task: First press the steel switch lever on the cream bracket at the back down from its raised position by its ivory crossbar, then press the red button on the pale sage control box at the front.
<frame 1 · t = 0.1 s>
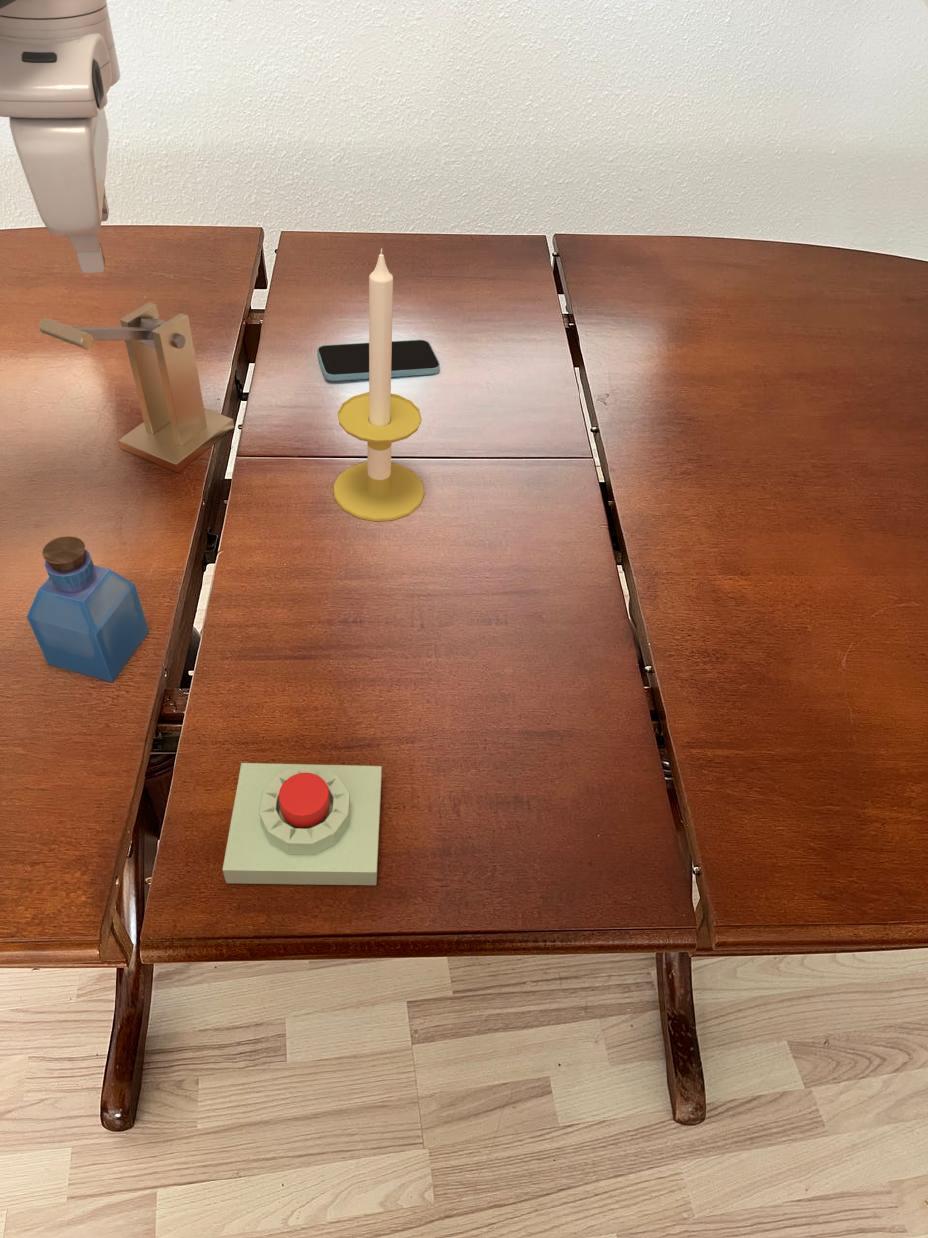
hand: (96, 242, 71), 27 cm above the table, tool pointing down, fingers open, 8 cm apart
button: (304, 799, 63), point 4 cm above the table, slide at 0.1 cm
lever: (117, 333, 83), point 15 cm above the table, hinge at 25.0°
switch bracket: (178, 438, 98), on the table
candle: (378, 492, 94), on the table
smartphone: (378, 364, 111), on the table
control box: (307, 829, 66), on the table
perfume bottle: (99, 649, 77), on the table
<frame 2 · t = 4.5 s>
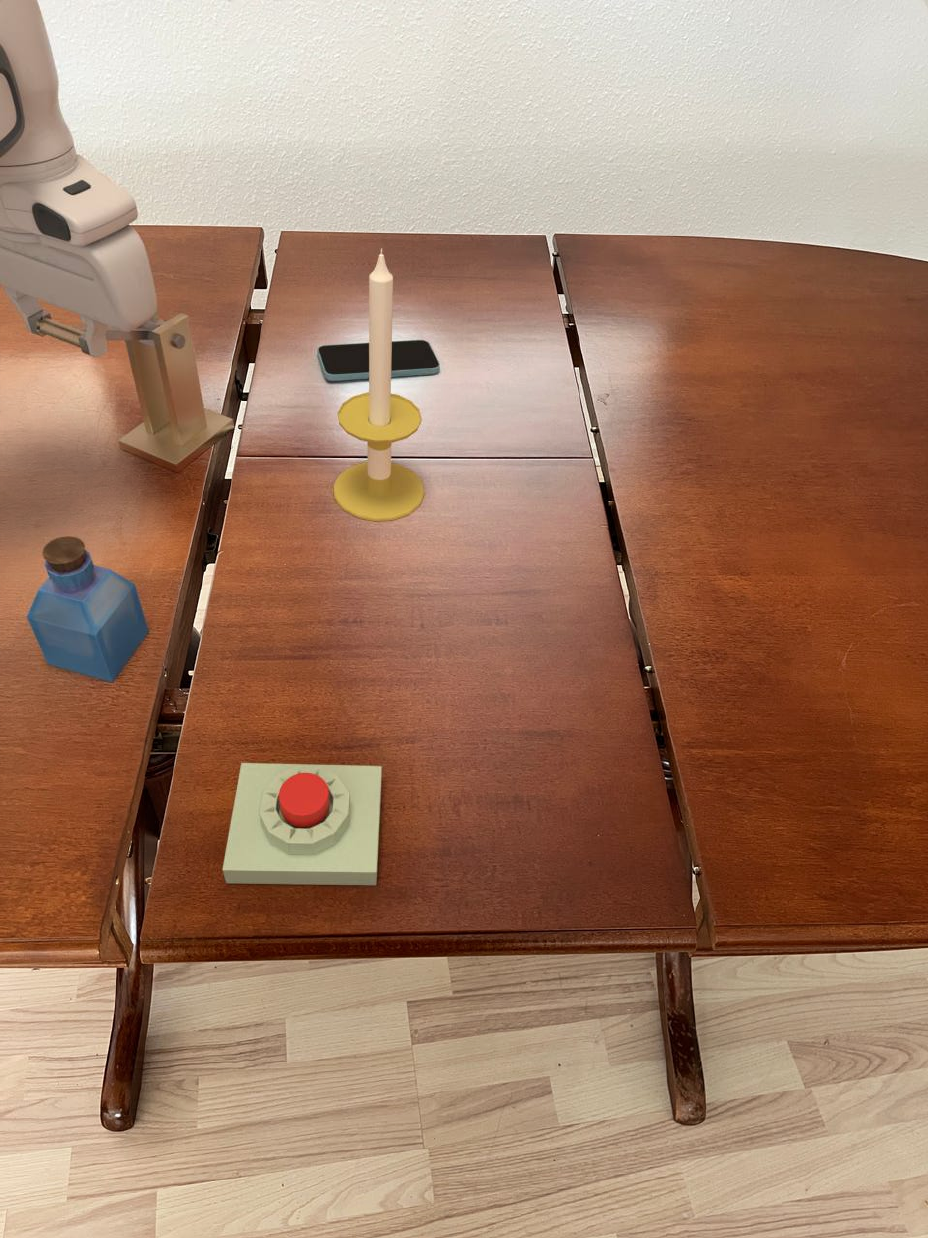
hand: (69, 342, 78), 17 cm above the table, tool pointing down, fingers closed on lever, 5 cm apart
lever: (117, 333, 83), point 15 cm above the table, hinge at 25.0°, touching gripper
everything else where it was.
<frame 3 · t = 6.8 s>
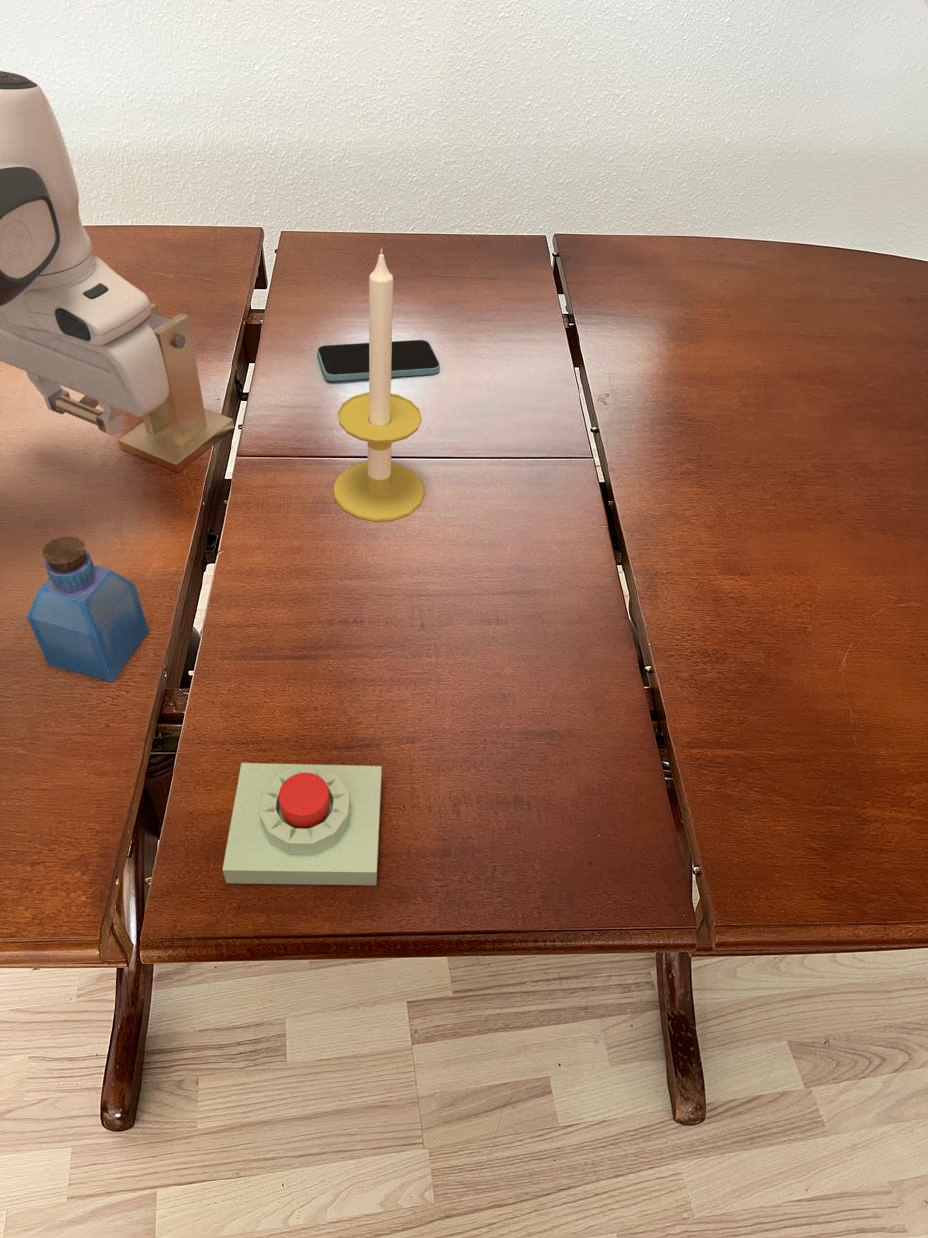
hand: (86, 419, 84), 9 cm above the table, tool pointing down, fingers closed on lever, 5 cm apart
lever: (122, 368, 85), point 12 cm above the table, hinge at -12.8°, touching gripper
everything else where it was.
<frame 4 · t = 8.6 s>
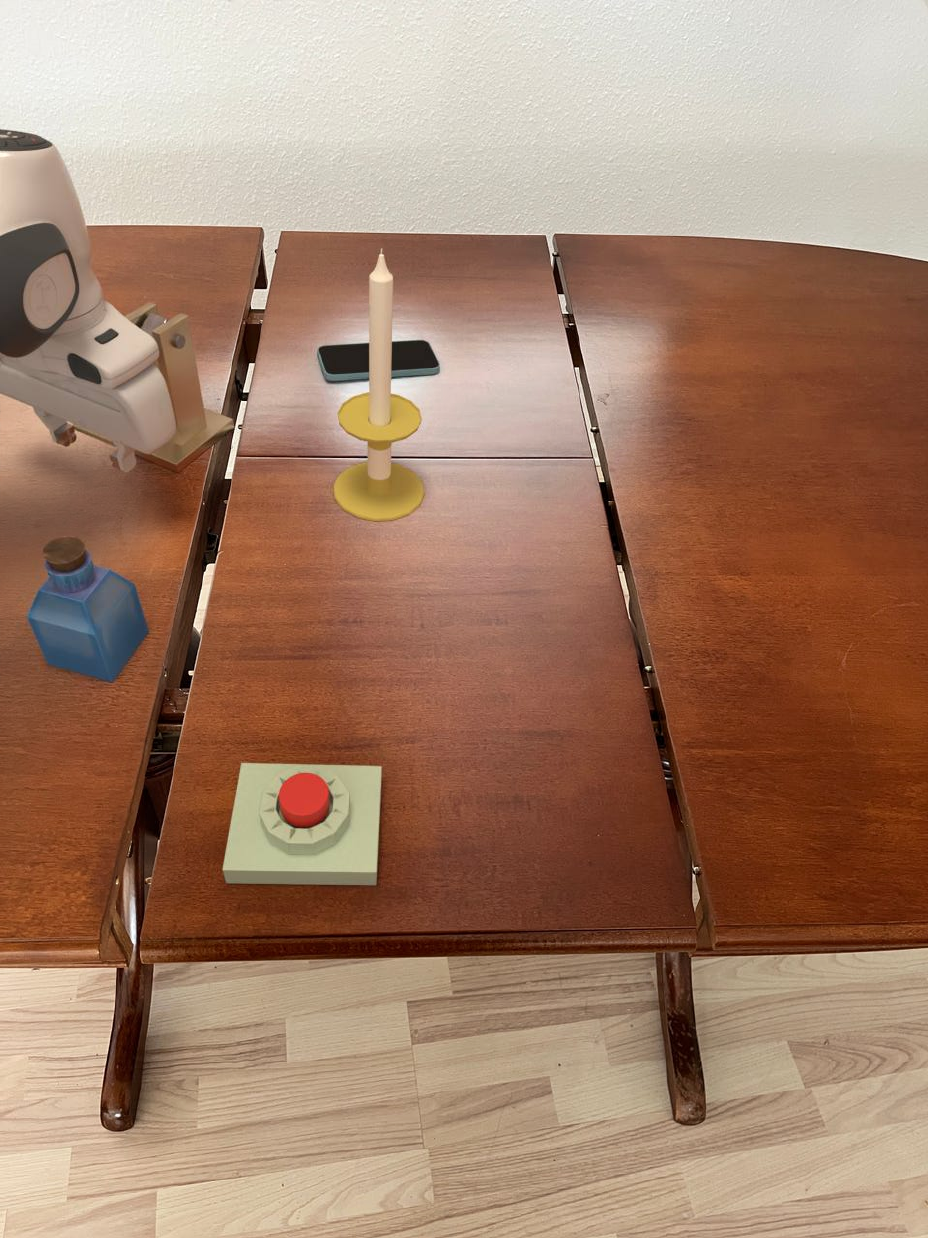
hand: (95, 454, 87), 5 cm above the table, tool pointing down, fingers open, 6 cm apart
lever: (129, 379, 87), point 10 cm above the table, hinge at -29.0°
everything else where it was.
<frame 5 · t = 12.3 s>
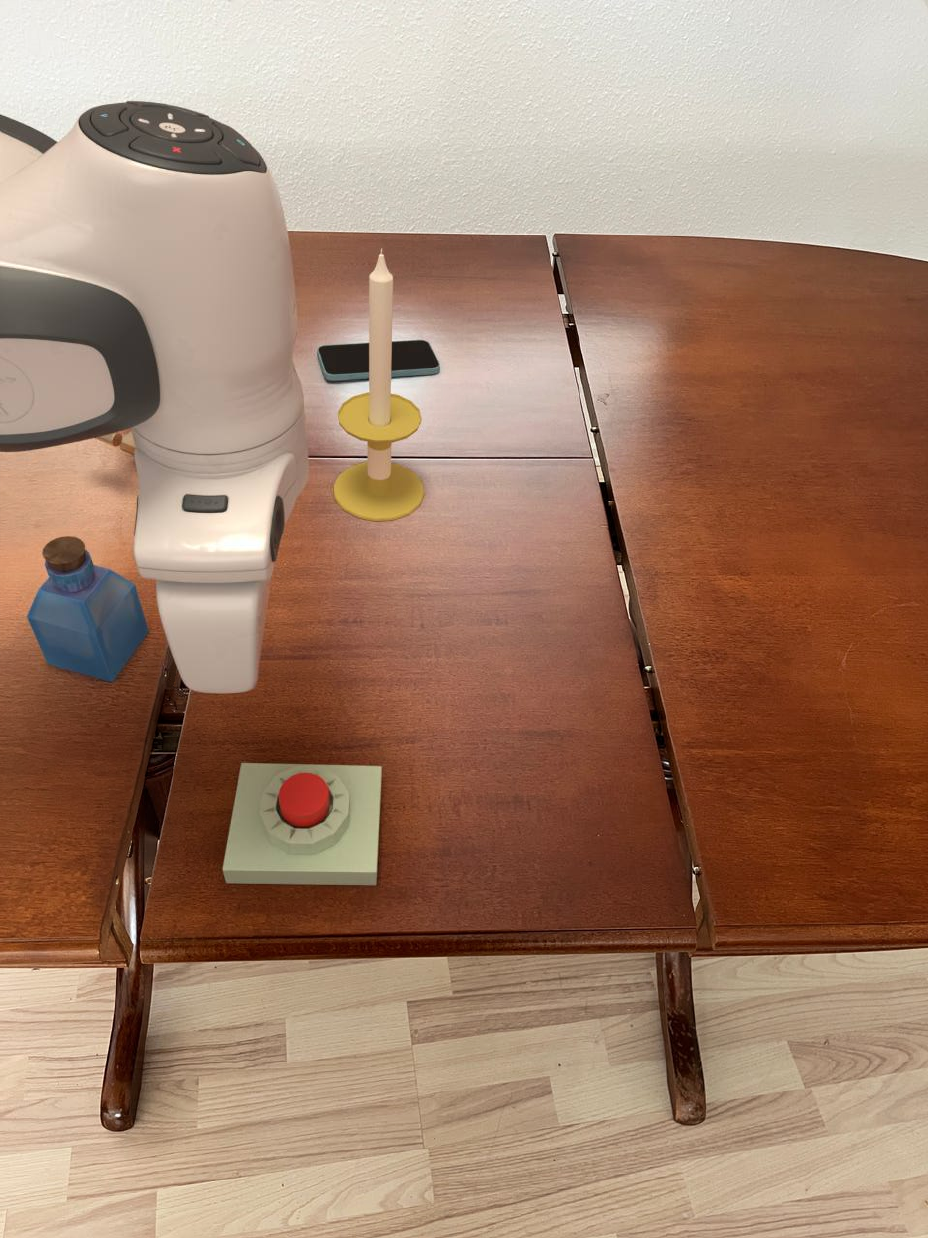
hand: (253, 621, 56), 18 cm above the table, tool pointing down, fingers open, 8 cm apart
nothing on the table moved.
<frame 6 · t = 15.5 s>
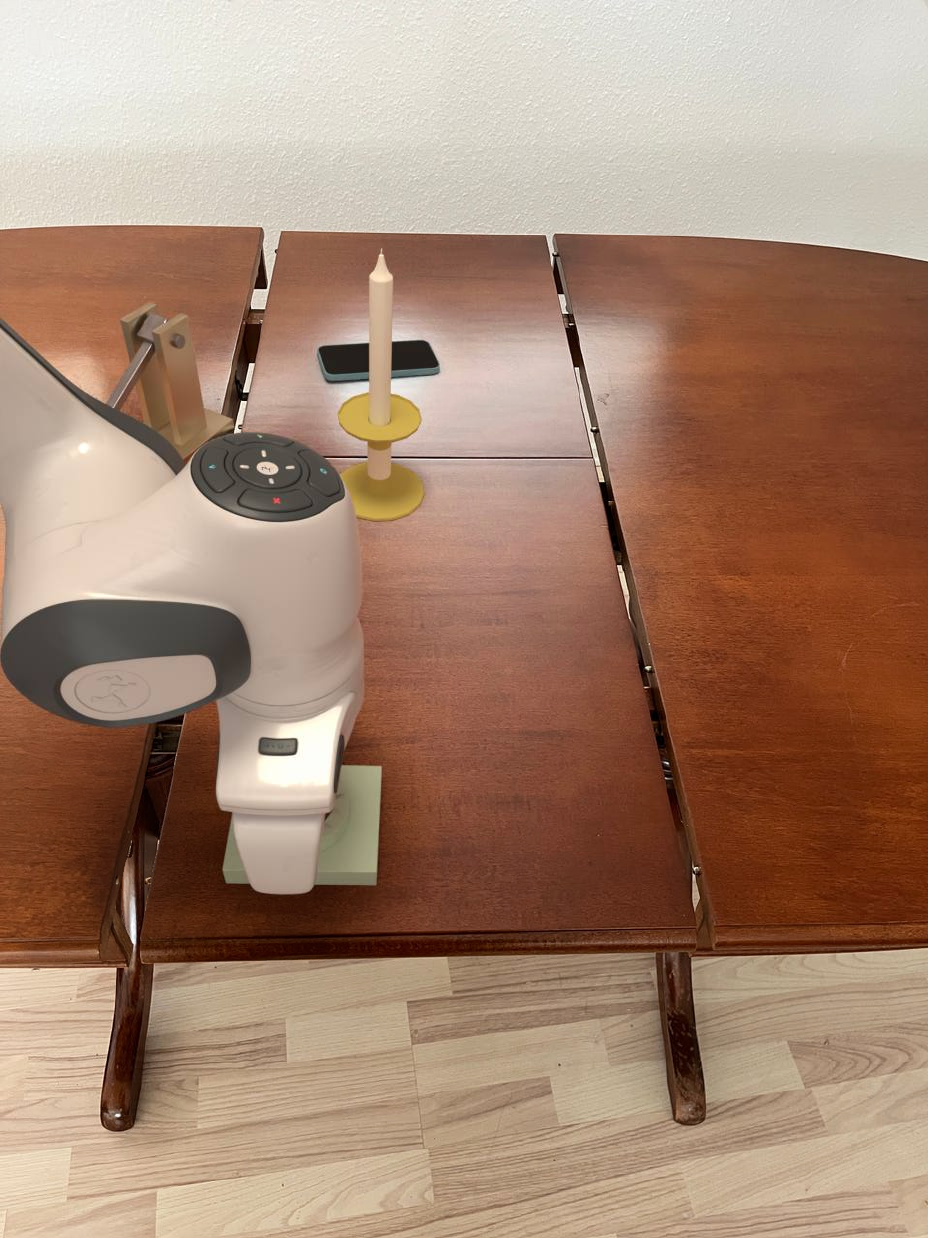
hand: (305, 794, 62), 5 cm above the table, tool pointing down, fingers closed, pressing on button
button: (304, 800, 63), point 4 cm above the table, slide at 0.0 cm, touching gripper
everything else where it was.
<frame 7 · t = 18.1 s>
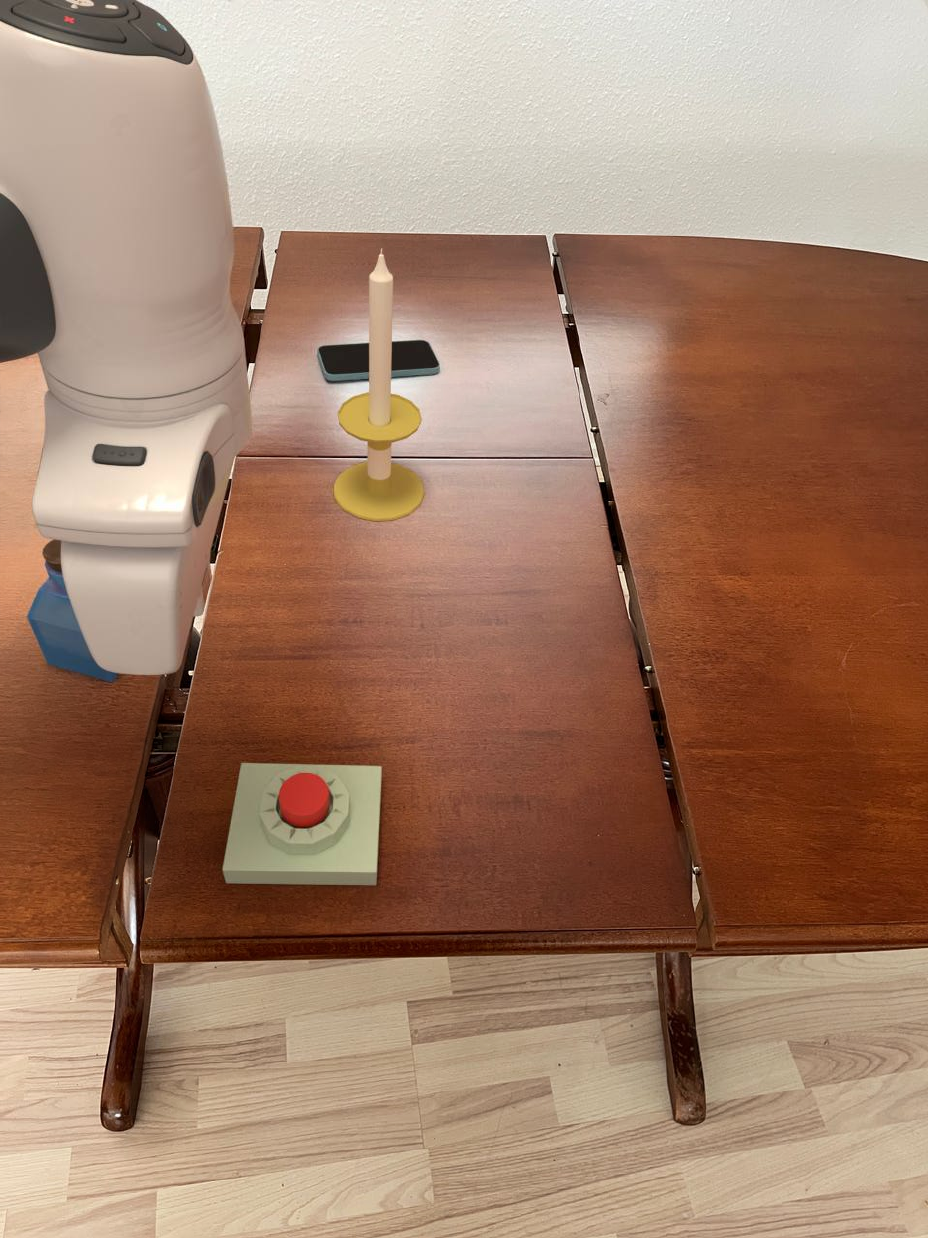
hand: (193, 598, 51), 23 cm above the table, tool pointing down, fingers closed
button: (304, 799, 63), point 4 cm above the table, slide at 0.1 cm
everything else where it was.
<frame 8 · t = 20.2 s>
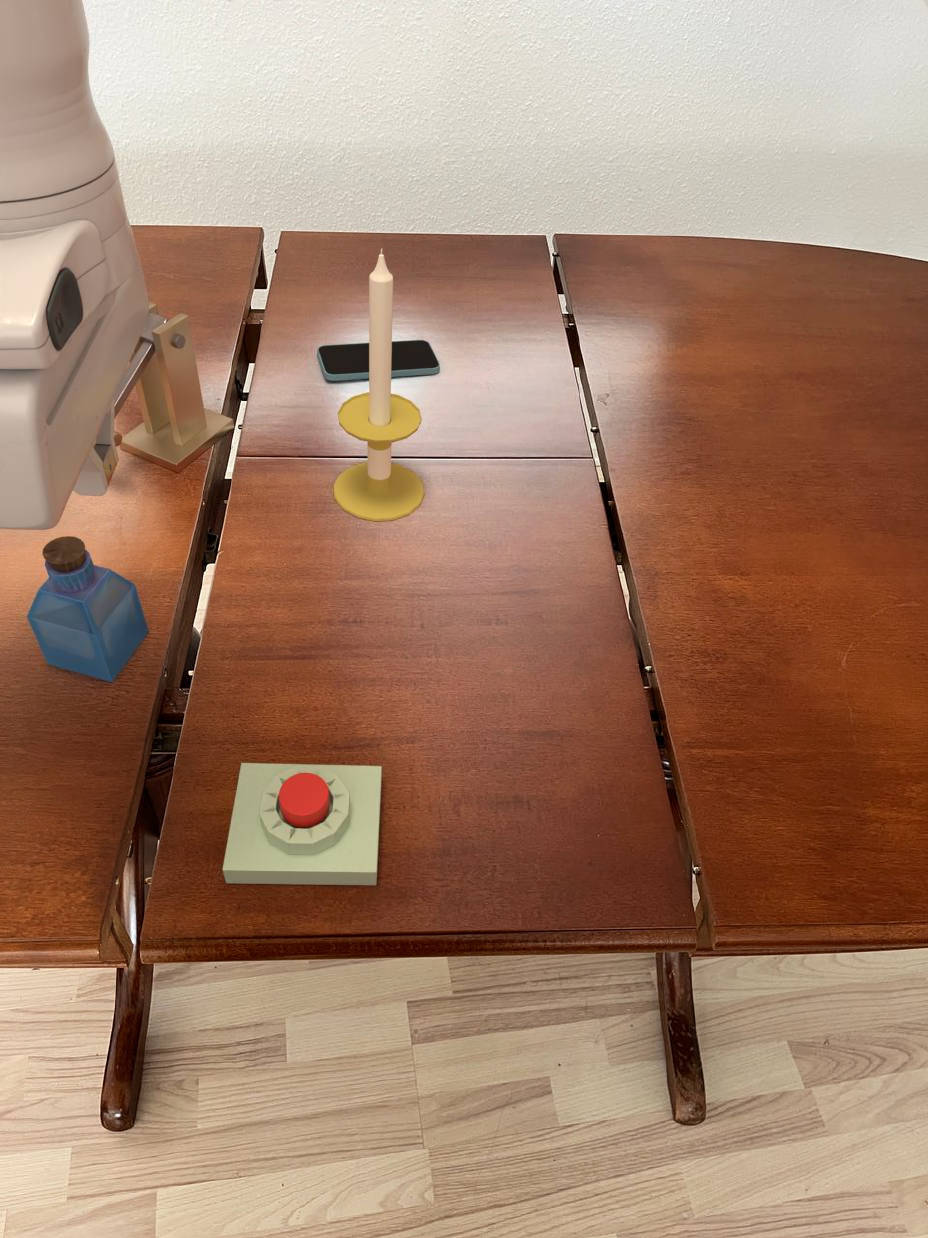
hand: (98, 479, 48), 29 cm above the table, tool pointing down, fingers closed
nothing on the table moved.
at the end: lever at -29° (first picture: +25°); button pushed in 1.1 cm at the most during the clip, back to where it started at the end; button slide at 0.1 cm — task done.
